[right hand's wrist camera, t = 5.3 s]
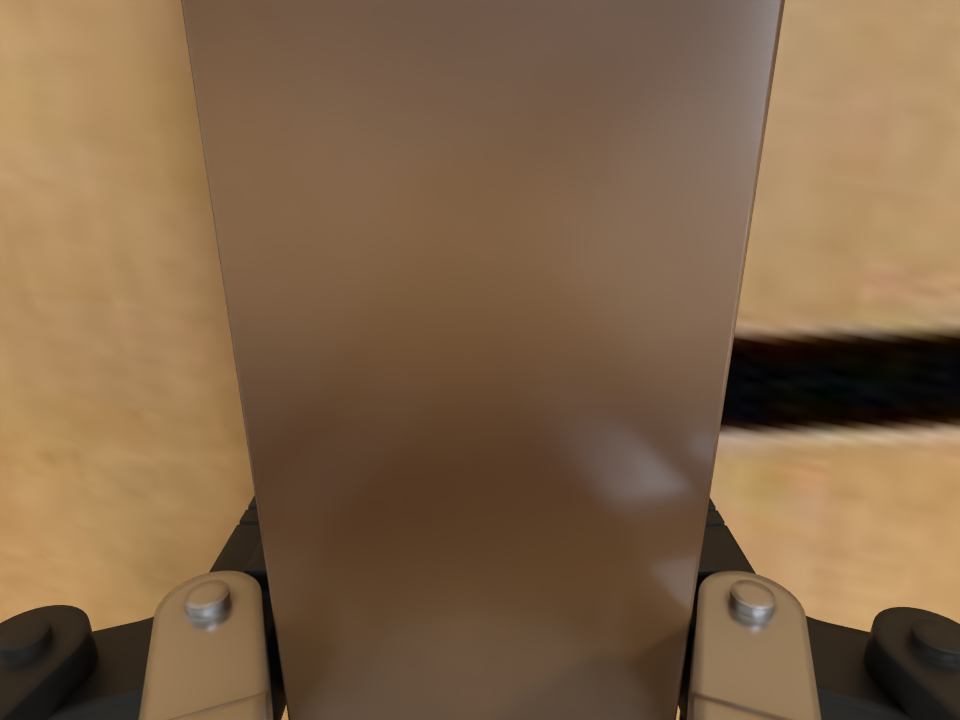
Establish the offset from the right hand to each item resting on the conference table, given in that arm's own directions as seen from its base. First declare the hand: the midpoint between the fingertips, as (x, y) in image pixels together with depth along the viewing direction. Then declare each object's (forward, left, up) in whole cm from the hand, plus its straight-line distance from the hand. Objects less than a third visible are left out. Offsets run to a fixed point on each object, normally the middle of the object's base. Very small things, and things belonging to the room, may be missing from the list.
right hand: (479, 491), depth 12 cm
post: (+22, -10, -3) cm, 25 cm away
